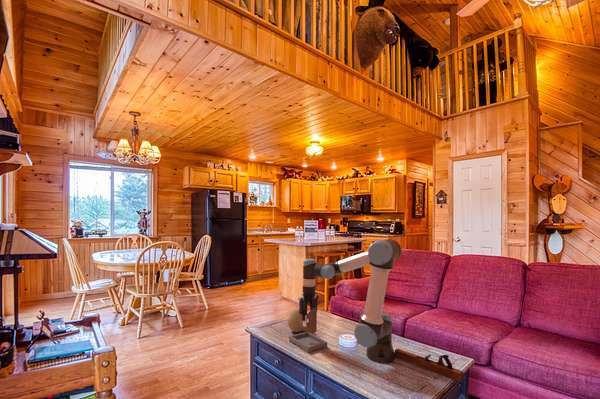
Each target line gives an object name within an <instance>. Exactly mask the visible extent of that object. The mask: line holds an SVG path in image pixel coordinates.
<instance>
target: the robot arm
mask: <svg viewBox="0 0 600 399" xmlns="http://www.w3.org/2000/svg"><path fill="white" fill-rule="evenodd" d="M402 250H403V248H402V246H401V244H400V243H399V242H398V241H396V240H395V239H392V238H391V239H390V238H387V239H378V240H376V241H374V242H372V243H371V244H370V245H369V247H368V249H367V250H366V251H362V252H361V253H357V254H354V255H352V256H348V257H346V258H343V259H340V260H337V261H333V262H329V263H324V264H322V263H317V260H316V259H313V258H305V259H304V260H303V264H302V265H303V266H302V296H299V297H298V298H297V299H298V303H299V304H298V308H299V314H301V315H302V320H303V326H305V327H307V322H308V319H307V315H306V311H307V312H308V306H309V308H310V311H311V310H312V309H313V308H316V307H317V308H318V302H319V301H318V300H319V298H320V297H319V296H320V295H318V294H316V293H315V292H316V278H320V279H325V280H326V279H328V280H330V279H331V280H332V278H333V277H334V276H336V275H341V274H344V273H346V272H347V273H348V272H350V271H354V270H356V269H360V268H363V267H366V266H370V268H371V269H370V276H369V282H368V288H367V294H366V299H365V300H366V301H365V306H364V312H363V313H361V314H360V318H359V322H358V324H357V325H356V327H355V328H354V334H353V335H354V337H355V339H356V341H357V343H358V344H359V345H360V346H362V347H364V348H366V351H365V352H366V357H367V358H368V359H369V360H370V361H372V362H377V363H382V364H385V363H386V364H388V363H392V362H394V361H395V360H396V358H395V349H394V346H393V339H392V338H393V336H392V335H393V316H391V314H388V313H386V312H383V309H384V304H385V296H386V290H387V284H388V278H389V274H390V271H392V270H393V269H394V263H395V261H397V260H398V259H400V257H402V256H401V255H402V252H403V251H402ZM303 299H304V301H303ZM303 302H304V304H303Z"/></svg>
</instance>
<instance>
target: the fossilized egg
mask: <svg viewBox="0 0 600 399" xmlns="http://www.w3.org/2000/svg"><path fill="white" fill-rule="evenodd" d="M286 322H287V326H288V328H289V329H290V330H291V331H292V332H294V333H300V332H302V331H304V330H303V329H301V328H300V322H301V314H299V307H295V308H293V309H291V310H290V312H289V314H288V316H287V320H286Z"/></svg>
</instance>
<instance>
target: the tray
mask: <svg viewBox="0 0 600 399" xmlns="http://www.w3.org/2000/svg"><path fill="white" fill-rule="evenodd" d="M288 342H290V343H291V344H293V345H295V346H296V347H297V348H299V349H301V350H302V351H304V352H305V353H307V354H309V353H312V352H313V353H314V352H316V351H319V350H323V349H327V348H328V341H326V340H325V339H323V338H321V337H319V336H317V335H315V334H314V333H310V332H308V331H304V332H301V333H300V332H299V333H297V334H292V335H289V336H288Z"/></svg>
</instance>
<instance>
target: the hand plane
mask: <svg viewBox="0 0 600 399" xmlns="http://www.w3.org/2000/svg"><path fill="white" fill-rule="evenodd" d="M394 353H395V359H398V360H401V361H404V362H406V363H408V364H411V365H414V366H416V367H419V368H422V369H424V370H427V371H429V372H432V373H434V374H437V375H440V376H442V377H445V378H447V379H451V380H453V381H456V382H459V383H462V382H463V381H465V380H464V376H465V375H464V371H462V370H459V369H456V368H454V367H453V363H452V362H451V360H450V358H449V357H450V355H449V354H442V355H439V357H438V361H435V360H432V359H429V358H431V357H432V354H428V355H426V356H425V357H423V356H420V355H418V354H416V353H413V352H409V351H406V350H404V349H401V348H398V347H397V348H395V349H394ZM443 360H444V361H445V363H446V364H445V363H444V361H443Z"/></svg>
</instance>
